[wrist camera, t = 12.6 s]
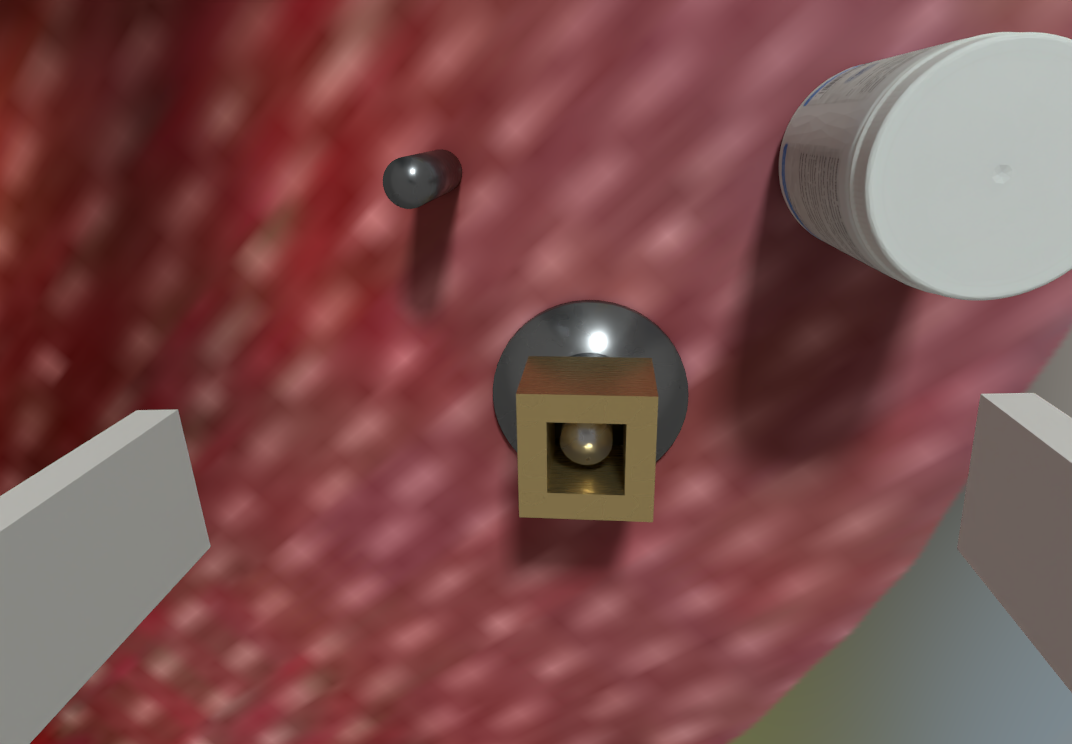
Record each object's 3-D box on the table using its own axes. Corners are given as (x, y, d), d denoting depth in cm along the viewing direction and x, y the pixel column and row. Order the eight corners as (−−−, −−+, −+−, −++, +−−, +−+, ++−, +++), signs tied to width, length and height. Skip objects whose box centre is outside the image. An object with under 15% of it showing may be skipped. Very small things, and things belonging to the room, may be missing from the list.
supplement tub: (909, 265, 41) (1060, 342, 27) (747, 218, 41) (817, 271, 27) (991, 87, 38) (1211, 72, 24) (815, 36, 38) (934, -8, 24)
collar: (530, 465, 44) (519, 517, 39) (528, 355, 42) (515, 393, 36) (647, 469, 44) (652, 521, 38) (651, 357, 41) (658, 396, 36)
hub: (457, 363, 46) (431, 405, 39) (622, 262, 43) (624, 289, 36) (560, 509, 48) (553, 571, 42) (722, 424, 45) (741, 476, 39)
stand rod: (412, 164, 42) (372, 175, 35) (446, 141, 41) (412, 146, 34) (436, 200, 42) (402, 218, 35) (470, 177, 42) (442, 190, 35)
